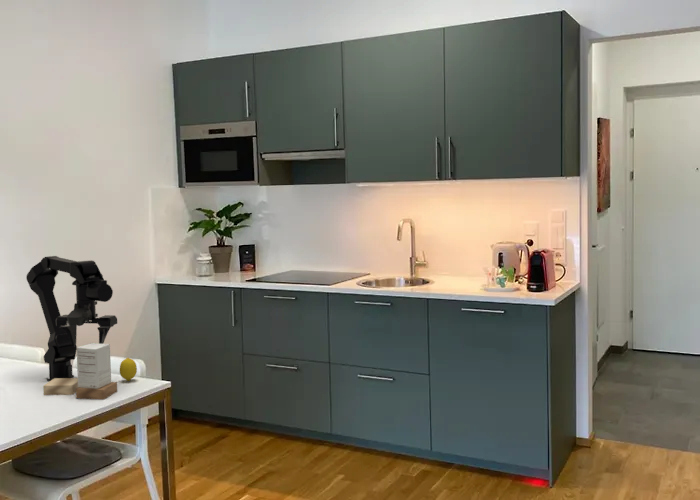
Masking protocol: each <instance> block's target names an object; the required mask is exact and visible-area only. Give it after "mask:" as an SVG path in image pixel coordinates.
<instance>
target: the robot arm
mask: <svg viewBox="0 0 700 500" xmlns="http://www.w3.org/2000/svg"><path fill="white" fill-rule="evenodd" d="M59 272H63V273H66V274H69V276H70V277H71V278H73V279H75V280H74V281H72V283H71V285H72V286H75V293H76V296H75V297H76V298H75V299H76V302H75V303H74V305H73V310H71V311H70V312H69V313H68V314H63V315H62V314H61V313H60V312H61V311H60V308H59V305H58V303H57V300H56V296H55V291H54V289H55V287H56V277H57V276H58V275H59ZM103 276H104V275H103V274H102V272H101V271H100V269H99V267H98V265H97V264H96V262H95V260H91V259H90V260H81V261H80V260H79V261H77V260H73V259H68V258H63V257H59V256H57V255H52V256H51V255H50V256H44V257H42V259H41V260H40V261H39V262H38V263H37V264H35V265H34V266H32V267H31V268H30V270H29V271H28V272H27V274H26V281H27V284H28V286H29V288H30V290H31V291H32V292H33V293H34V294H35V295H37V297H38V300H39V303H40V307H41V310H42V313H43V315H44V318H45V323H46V326H47V330H48V332H49V337H48V342H47V347H48V349H47V350H46V352H45V354H44V355H43V361H44V363H45V364H48V369H49V370H48V372H49V373H48V374H49V377H47V378H46V381H48V382H50V381H51V380H52V379H54V378H75V377H74V376H75V375H74V374H73V365H72V360H76V356H77V348H78V347H77V335H78V334H77V329H78V328H77V327H80V326H83V325H84V324H97V325H98V327H97V331H98V344H105V340H106V338H107V335H108V333H109V331H110V329H111V328H113V327H114V325H117V324H118V318H117V316H116V315H113V314H112V315H111V314H109V315H106V314H105V315H101V316H100V317H99V316H98V315H99V314H98V313H97V311H96V305H98V302H104V303H105V302H109V301H110V300H111V299H112V297H113V294H114V292H113V291H114V290H113V288H112V286H111V285H109V283H108V280H106V279H104V277H103Z"/></svg>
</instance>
